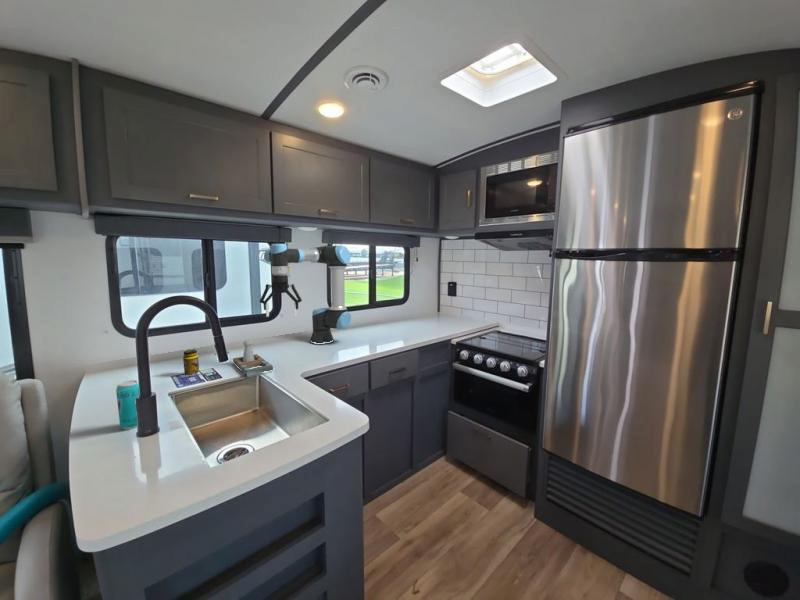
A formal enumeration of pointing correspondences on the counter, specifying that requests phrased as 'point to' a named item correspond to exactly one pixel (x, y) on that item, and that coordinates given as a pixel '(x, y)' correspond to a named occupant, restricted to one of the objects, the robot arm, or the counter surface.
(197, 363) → the condiment
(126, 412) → the beverage can
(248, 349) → the salt shaker
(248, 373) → the grey rectangular tray
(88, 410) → the counter surface
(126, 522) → the counter surface
